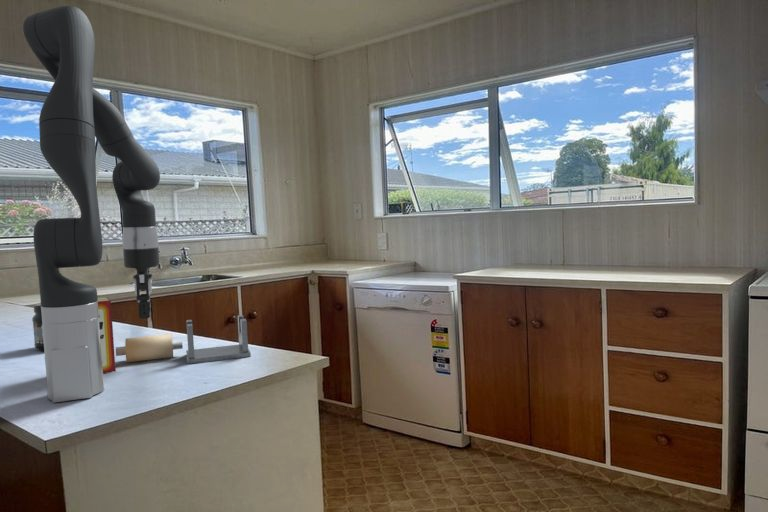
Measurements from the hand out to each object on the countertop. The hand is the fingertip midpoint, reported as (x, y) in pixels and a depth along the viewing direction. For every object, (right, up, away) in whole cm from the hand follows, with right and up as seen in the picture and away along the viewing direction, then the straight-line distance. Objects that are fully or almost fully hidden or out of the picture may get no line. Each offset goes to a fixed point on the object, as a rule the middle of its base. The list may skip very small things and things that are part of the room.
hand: (145, 315), depth 126 cm
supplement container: (-31, -11, +18) cm, 38 cm away
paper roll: (+1, -11, 0) cm, 11 cm away
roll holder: (+17, -10, +2) cm, 19 cm away
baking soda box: (-8, -12, -9) cm, 17 cm away
